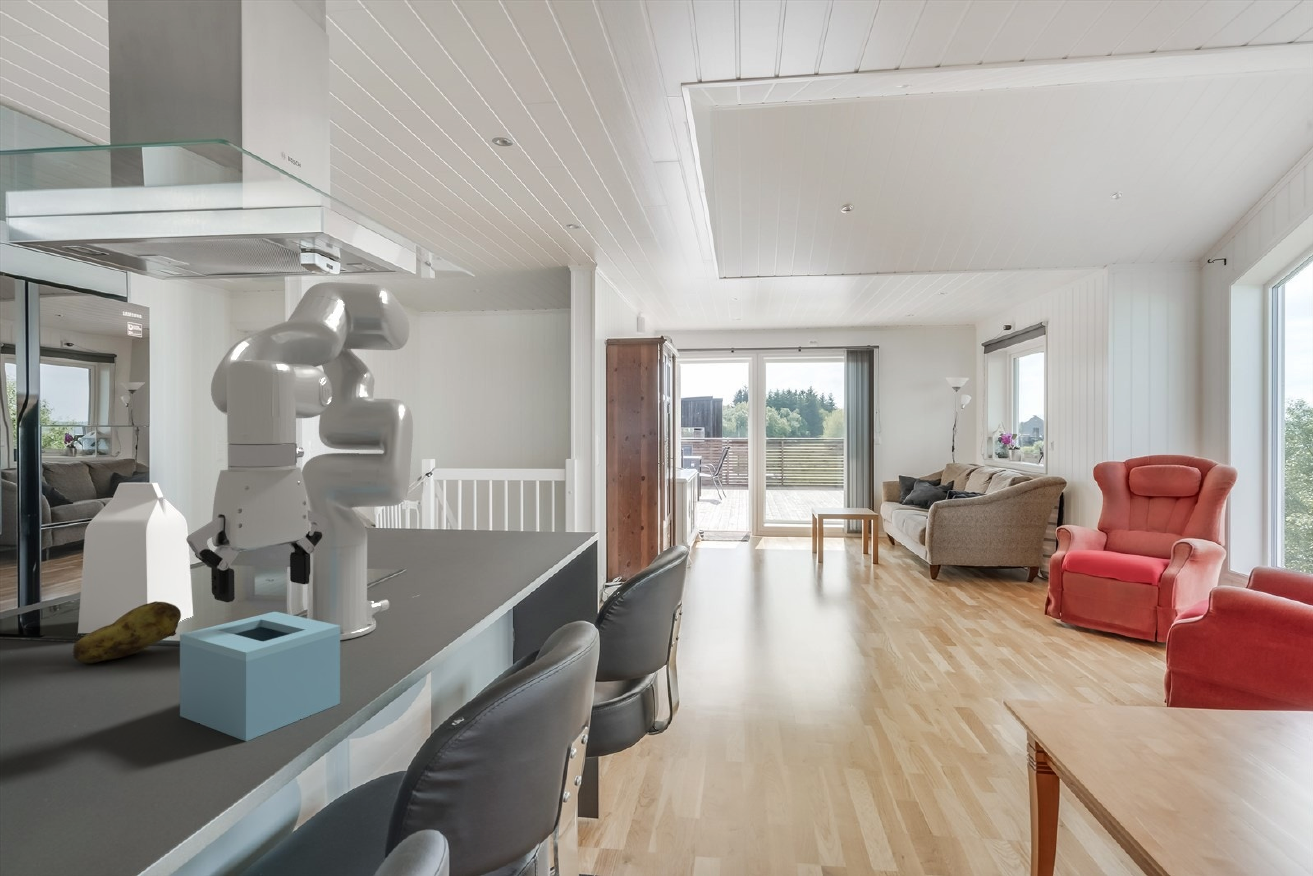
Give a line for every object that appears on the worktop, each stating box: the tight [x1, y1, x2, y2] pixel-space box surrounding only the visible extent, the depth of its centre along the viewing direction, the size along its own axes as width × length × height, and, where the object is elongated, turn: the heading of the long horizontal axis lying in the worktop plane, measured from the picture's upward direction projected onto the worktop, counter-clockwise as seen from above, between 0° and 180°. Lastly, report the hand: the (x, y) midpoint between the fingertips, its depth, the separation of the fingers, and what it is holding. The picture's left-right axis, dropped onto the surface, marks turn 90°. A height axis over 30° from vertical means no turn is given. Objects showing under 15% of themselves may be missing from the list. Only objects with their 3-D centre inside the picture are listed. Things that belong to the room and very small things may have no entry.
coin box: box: [179, 611, 341, 742], centre depth 84 cm, size 12×14×10 cm
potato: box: [72, 601, 181, 665], centre depth 103 cm, size 8×13×8 cm, turn 120°
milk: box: [77, 482, 194, 634], centre depth 120 cm, size 12×12×26 cm
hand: (263, 591), depth 84 cm, fingers open, 9 cm apart
